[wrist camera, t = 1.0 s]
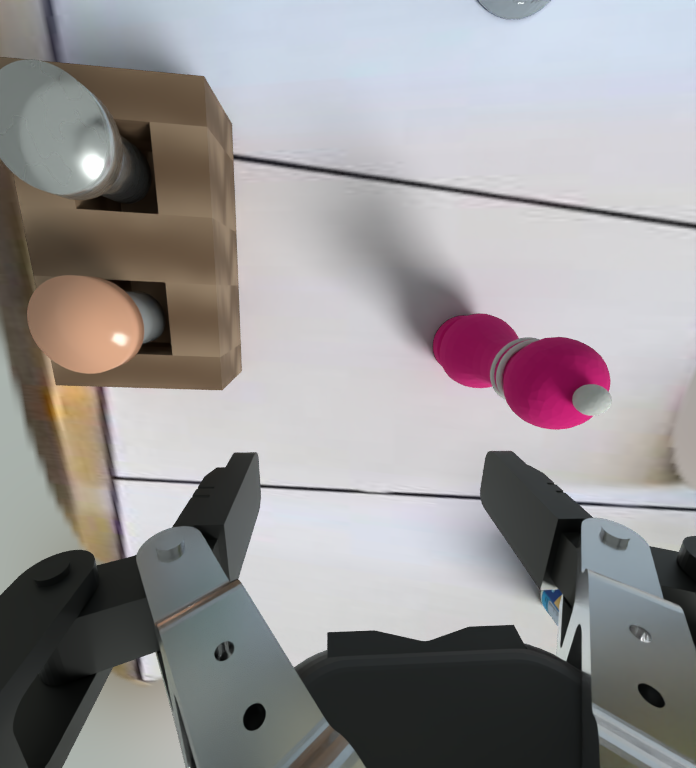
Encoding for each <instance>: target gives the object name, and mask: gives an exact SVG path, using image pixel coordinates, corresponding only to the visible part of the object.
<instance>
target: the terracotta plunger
mask: <svg viewBox="0 0 696 768" xmlns="http://www.w3.org/2000/svg"><path fill="white" fill-rule="evenodd" d="M27 319H28V325H29V329H30V332H31V334H32V336H33V338H34V340H35V342H36V343H37V345H38V346H39V348H40V349H41V350H42V351H43V352H44V353H45V354H46V355H47V356H48V357H49V358H50V359H51V360H53V361H54V362H55V363H57V364H59V365H60V366H62V367H64V368H66V369H69V370H72V371H75V372H79V373H86V374H95V373H101V372H105V371H108V370H110V369H113V368H116V367H118V366H121V365H123V364H125V363H127V362H129V361H130V360H131V359H132V358H134V357H135V355H136V354H137V353H138V351H139V350H140V348H141V346H142V344H144V343H147V342H151V341H153V340H155V339H157V338H158V337H159V336H160V335H161V334H162V333H163V331H164V329H165V326H166V316H165V312H164V310H163V308H162V306H161V304H160V303H159V302H158V301H157V300H156V299H155V298H154V297H153V296H151V295H149V294H147V293H145V292H142V291H124V290H123V289H121V288H120V287H119V286H117V285H116V284H114V283H112V282H110V281H108V280H105V279H102V278H98V277H93V276H77V275H63V276H57V277H54V278H51V279H49V280H47V281H45V282H44V283H42V284H41V285H40V286H39V287H38V288H37V289H36V290H35V291H34V293H33V294H32V296H31V298H30V301H29V304H28V310H27Z"/></svg>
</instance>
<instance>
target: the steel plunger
mask: <svg viewBox="0 0 696 768" xmlns="http://www.w3.org/2000/svg"><path fill="white" fill-rule="evenodd" d="M0 159H1V160H2V161H3V162H4V164H5V165H6V166H7V167H8V168H9V169H10V170H11V171H12V172H13V173H14V174H15V175H16V176H17V177H19V178H20V179H21V180H23V181H24V182H26V183H27V184H29V185H31V186H33V187H35V188H38V189H40V190H43V191H46V192H49V193H51V194H54V195H57V196H60V197H63V198H67V199H72V200H88V199H93V198H96V197H98V196H100V195H101V196H104V197H106V198H109V199H111V200H114V201H116V202H119V203H124V204H131V203H135V202H138V201H140V200H141V199H142V198H144V197H145V195H146V194H147V193H148V191H149V188H150V185H151V170H150V166H149V163H148V161H147V159H146V157H145V156H144V154H143V153H142V152H141V151H140V150H139V149H138V148H137V147H136V146H135V145H133V144H132V143H131V142H129V141H128V140H127V139H125V138H124V137H123V136H121V135H120V133H119V130H118V127H117V125H116V123H115V121H114V119H113V117H112V115H111V114H110V112H109V111H108V109H107V108H106V106H105V105H104V104H103V103H102V102H101V101H100V100H99V99H98V98H97V97H96V96H95V95H94V94H93V93H92V92H91V91H89V90H88V89H87V88H86V87H84V86H83V85H82V84H81V83H80V82H78V81H77V80H76V79H75V78H74V77H72V76H71V75H70V74H68V73H67V72H65V71H64V70H62V69H61V68H59V67H57V66H55V65H52V64H50V63H47V62H43V61H39V60H19V61H15V62H12V63H10V64H8V65H6V66H4V67H3V68H1V69H0Z"/></svg>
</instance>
